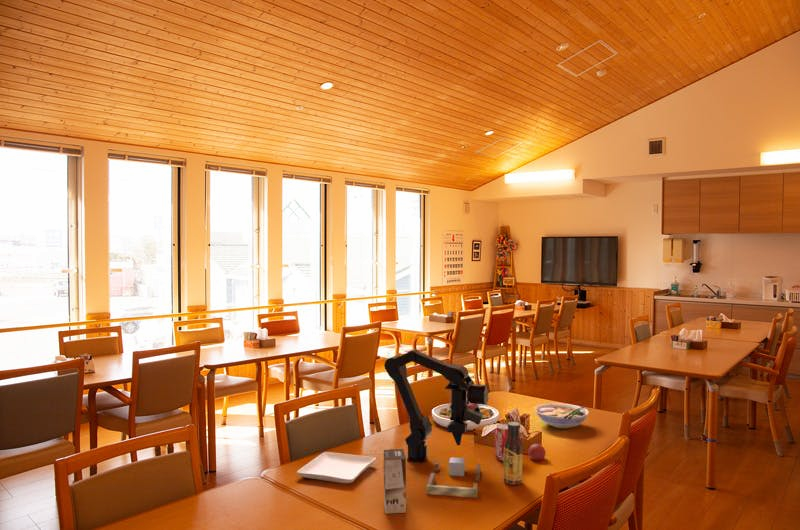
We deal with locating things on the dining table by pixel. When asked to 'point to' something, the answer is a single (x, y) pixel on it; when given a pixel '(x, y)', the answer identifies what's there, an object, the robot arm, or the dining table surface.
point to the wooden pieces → (450, 489)
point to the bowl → (489, 417)
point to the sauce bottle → (513, 456)
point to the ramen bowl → (561, 414)
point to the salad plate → (336, 467)
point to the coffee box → (394, 481)
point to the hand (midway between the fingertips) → (458, 444)
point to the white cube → (457, 466)
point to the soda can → (500, 440)
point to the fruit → (536, 452)
